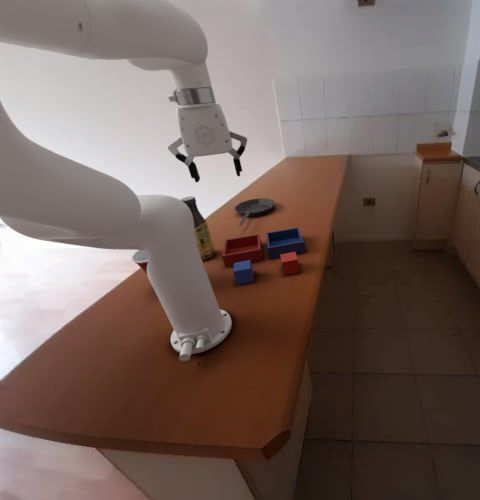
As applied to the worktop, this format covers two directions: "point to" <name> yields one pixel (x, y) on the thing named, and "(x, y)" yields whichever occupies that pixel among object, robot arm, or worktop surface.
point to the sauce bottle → (200, 230)
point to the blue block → (243, 272)
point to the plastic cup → (141, 259)
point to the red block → (289, 263)
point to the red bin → (242, 250)
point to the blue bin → (284, 242)
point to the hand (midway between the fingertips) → (218, 177)
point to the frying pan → (254, 208)
